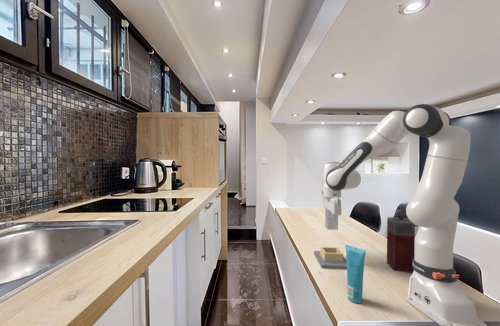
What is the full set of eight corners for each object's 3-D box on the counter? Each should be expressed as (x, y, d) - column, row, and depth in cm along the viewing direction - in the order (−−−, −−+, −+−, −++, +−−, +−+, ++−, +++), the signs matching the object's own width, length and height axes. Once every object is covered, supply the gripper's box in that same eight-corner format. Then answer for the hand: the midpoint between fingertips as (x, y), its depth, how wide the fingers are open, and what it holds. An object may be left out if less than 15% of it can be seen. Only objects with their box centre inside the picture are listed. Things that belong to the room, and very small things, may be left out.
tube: (367, 300, 84) (368, 248, 84) (363, 306, 80) (363, 251, 80) (346, 293, 89) (347, 243, 89) (341, 298, 85) (342, 246, 86)
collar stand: (351, 269, 109) (351, 257, 109) (321, 268, 110) (321, 256, 110) (339, 254, 127) (339, 244, 127) (313, 253, 128) (313, 243, 128)
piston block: (337, 229, 116) (338, 209, 116) (327, 229, 116) (328, 209, 116) (334, 227, 121) (335, 208, 121) (325, 226, 121) (325, 207, 121)
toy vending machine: (404, 262, 118) (404, 207, 118) (414, 272, 107) (415, 212, 107) (384, 260, 120) (385, 207, 120) (393, 270, 109) (394, 211, 109)
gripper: (345, 196, 108) (344, 225, 108) (332, 191, 129) (332, 215, 129) (331, 196, 109) (331, 225, 109) (321, 190, 129) (320, 215, 129)
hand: (331, 220), depth 119 cm, fingers closed on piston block, 5 cm apart
